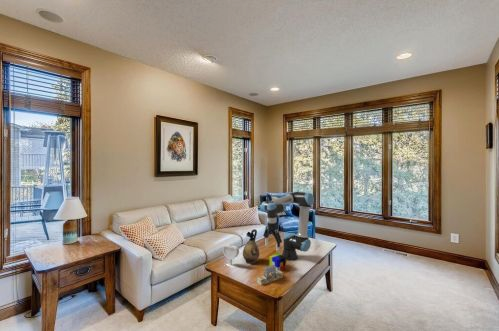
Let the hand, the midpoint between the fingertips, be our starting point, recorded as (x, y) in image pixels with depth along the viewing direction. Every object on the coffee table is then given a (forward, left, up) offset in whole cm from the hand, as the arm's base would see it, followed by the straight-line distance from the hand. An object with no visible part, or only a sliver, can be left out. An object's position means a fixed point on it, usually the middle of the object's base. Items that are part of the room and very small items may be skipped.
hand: (272, 248), depth 191 cm
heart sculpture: (+18, -36, -23) cm, 47 cm away
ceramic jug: (-3, -33, -23) cm, 41 cm away
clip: (+5, +4, -22) cm, 23 cm away
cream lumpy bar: (+5, +4, -23) cm, 24 cm away
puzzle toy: (-14, -9, -23) cm, 29 cm away
